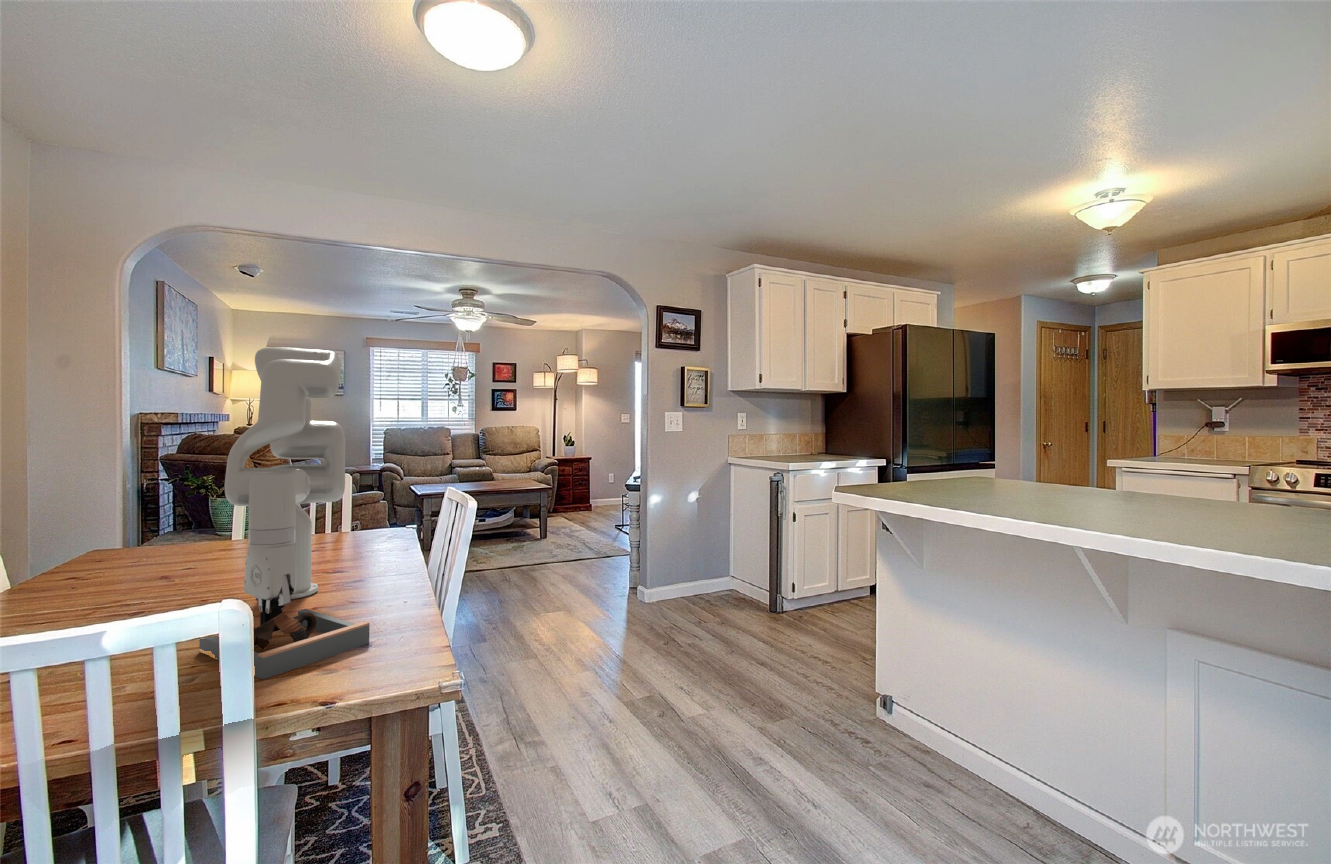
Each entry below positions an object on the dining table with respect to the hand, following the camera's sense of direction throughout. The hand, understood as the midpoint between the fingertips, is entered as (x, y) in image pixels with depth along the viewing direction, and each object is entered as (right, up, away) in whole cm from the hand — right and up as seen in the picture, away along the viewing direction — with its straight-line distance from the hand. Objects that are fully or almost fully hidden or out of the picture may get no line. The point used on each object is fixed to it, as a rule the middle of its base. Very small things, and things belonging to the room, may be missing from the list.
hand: (271, 631), depth 113 cm
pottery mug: (+5, -3, -4) cm, 7 cm away
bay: (+4, -2, -2) cm, 5 cm away
